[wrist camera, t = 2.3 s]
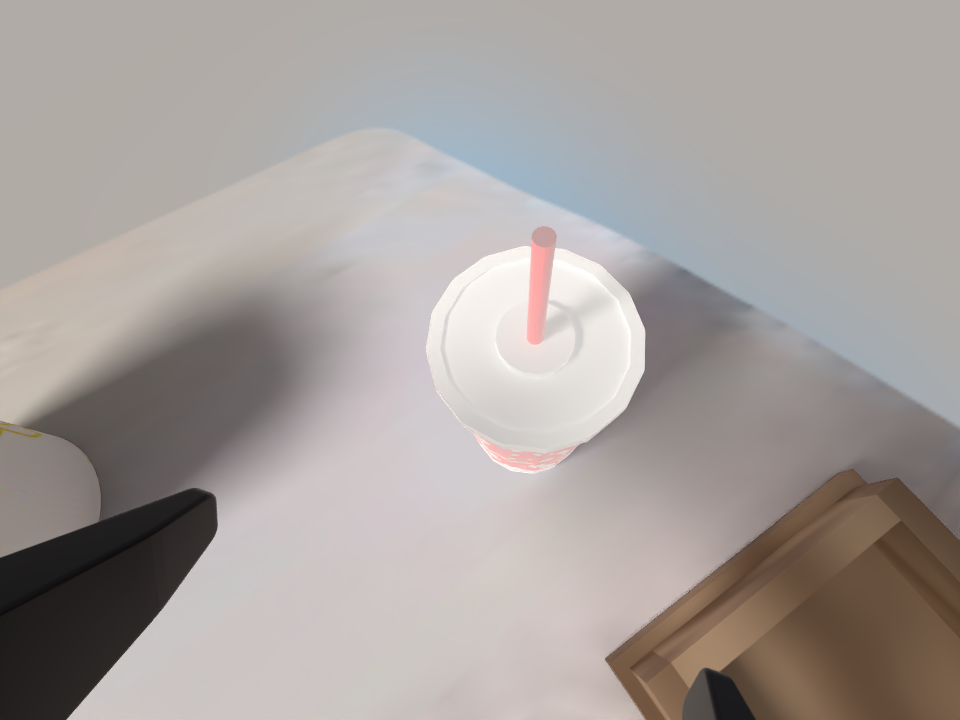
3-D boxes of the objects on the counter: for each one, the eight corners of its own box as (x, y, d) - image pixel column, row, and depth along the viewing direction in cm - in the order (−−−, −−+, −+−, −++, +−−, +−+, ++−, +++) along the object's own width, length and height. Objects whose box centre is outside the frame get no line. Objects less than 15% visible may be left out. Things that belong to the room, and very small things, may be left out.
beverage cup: (434, 392, 24) (338, 186, 11) (554, 332, 25) (599, 72, 12) (497, 518, 22) (471, 453, 9) (626, 450, 22) (780, 294, 9)
